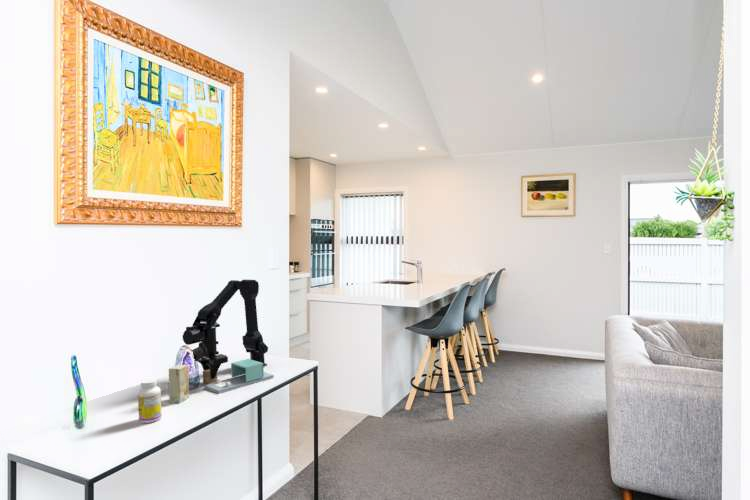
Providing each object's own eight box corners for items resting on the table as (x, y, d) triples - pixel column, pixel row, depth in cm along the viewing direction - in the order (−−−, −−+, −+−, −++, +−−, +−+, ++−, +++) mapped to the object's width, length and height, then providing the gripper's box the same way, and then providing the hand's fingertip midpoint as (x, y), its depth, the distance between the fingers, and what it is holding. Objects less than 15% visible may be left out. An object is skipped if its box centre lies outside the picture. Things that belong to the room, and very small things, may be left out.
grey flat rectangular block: (204, 388, 184) (204, 381, 184) (259, 373, 203) (258, 367, 203) (218, 393, 177) (218, 386, 177) (273, 377, 196) (273, 371, 196)
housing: (231, 377, 193) (231, 362, 193) (248, 372, 199) (248, 358, 199) (246, 382, 186) (246, 367, 186) (263, 377, 192) (263, 363, 192)
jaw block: (203, 383, 191) (202, 370, 191) (212, 380, 194) (211, 368, 194) (208, 385, 189) (207, 372, 188) (217, 382, 192) (216, 370, 191)
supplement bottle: (140, 418, 155) (138, 379, 155) (162, 414, 157) (160, 376, 157) (137, 425, 149) (136, 385, 148) (160, 422, 151) (159, 382, 151)
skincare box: (180, 403, 168) (178, 369, 168) (169, 402, 169) (167, 369, 168) (190, 397, 175) (188, 364, 174) (179, 396, 175) (178, 364, 175)
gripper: (178, 340, 191) (179, 378, 192) (201, 346, 179) (202, 387, 179) (204, 335, 199) (205, 372, 200) (227, 341, 187) (229, 380, 187)
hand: (210, 377), depth 191 cm, fingers closed on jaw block, 4 cm apart
